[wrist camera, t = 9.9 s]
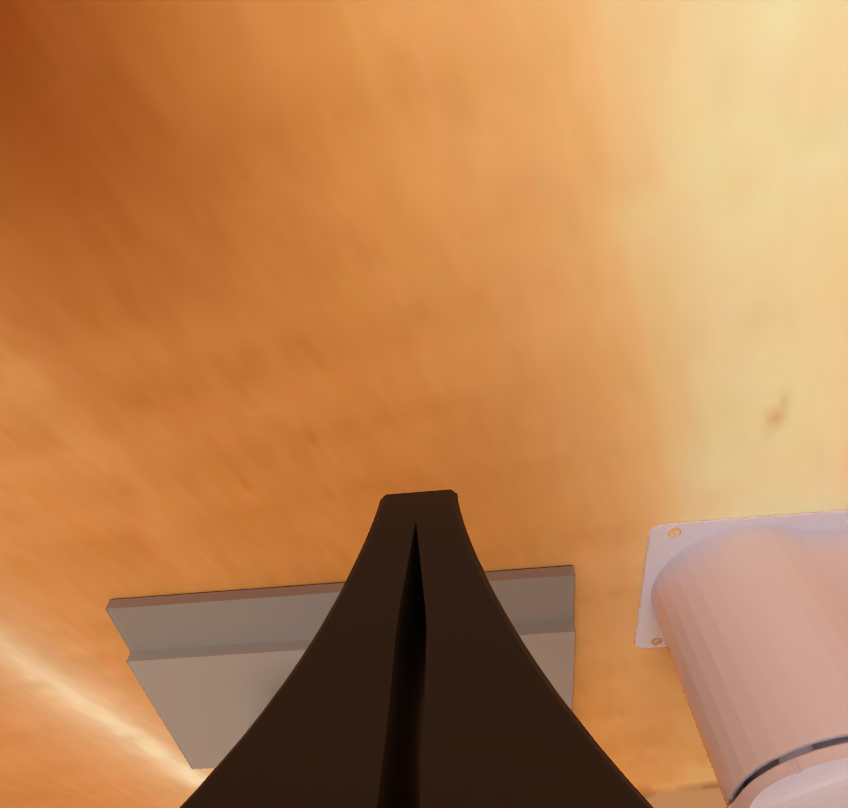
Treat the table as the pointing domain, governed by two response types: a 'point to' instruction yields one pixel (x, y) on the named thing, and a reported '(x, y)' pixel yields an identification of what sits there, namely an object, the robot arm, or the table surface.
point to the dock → (290, 648)
